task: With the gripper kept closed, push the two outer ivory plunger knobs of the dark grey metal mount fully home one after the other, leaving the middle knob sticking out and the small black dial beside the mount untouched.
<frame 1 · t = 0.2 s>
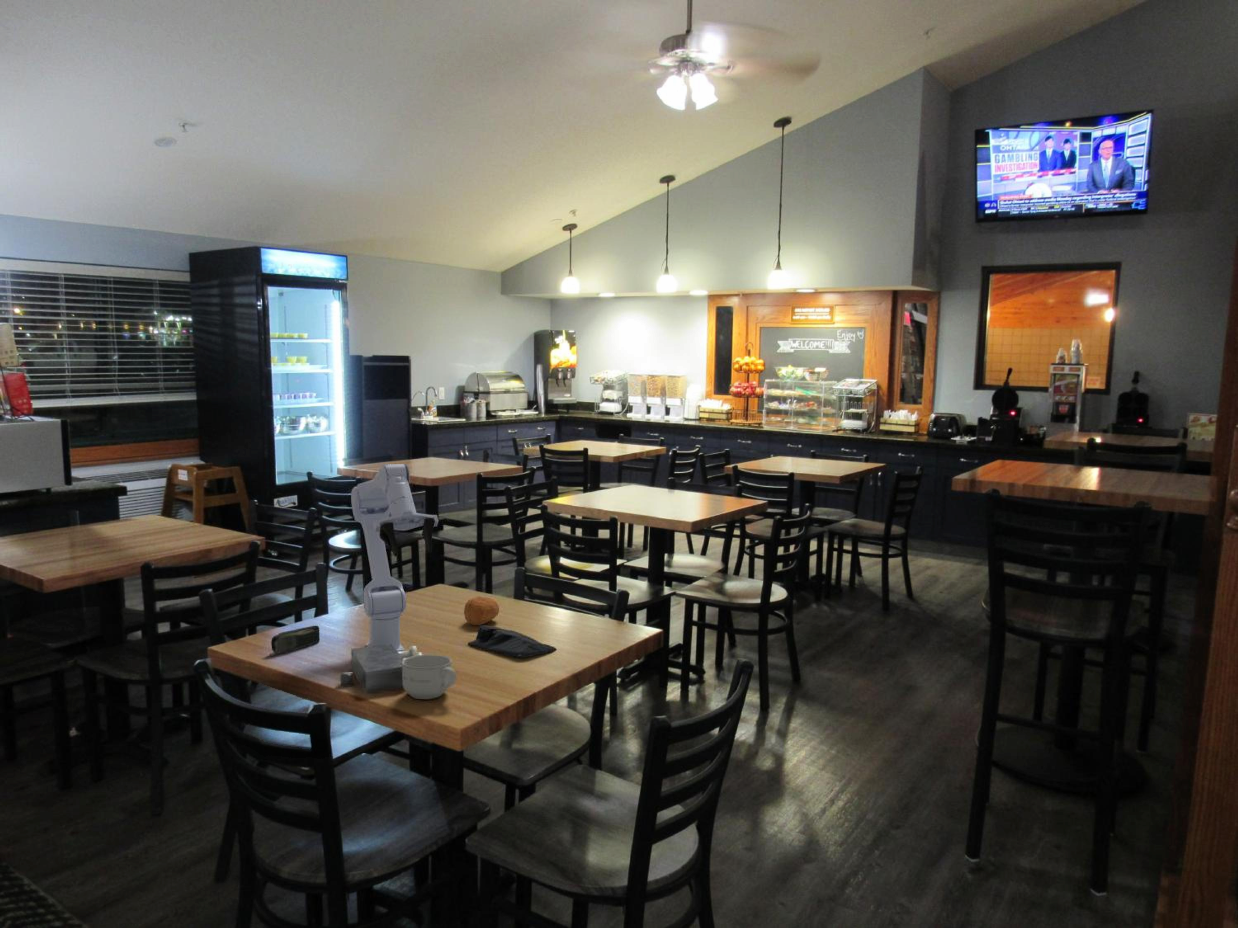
hand: (413, 551, 192), 31 cm above the table, tool tilted 45°, fingers open, 7 cm apart
knob 1: (398, 656, 206), point 3 cm above the table, slide at 0.0 cm
black cloth: (511, 649, 222), on the table
knob middle: (404, 662, 201), point 3 cm above the table, slide at 0.0 cm
potato: (481, 623, 244), on the table
mount: (379, 677, 199), on the table
dark green rounded block: (294, 649, 219), on the table
teacup: (431, 697, 187), on the table
black dial: (347, 683, 194), on the table
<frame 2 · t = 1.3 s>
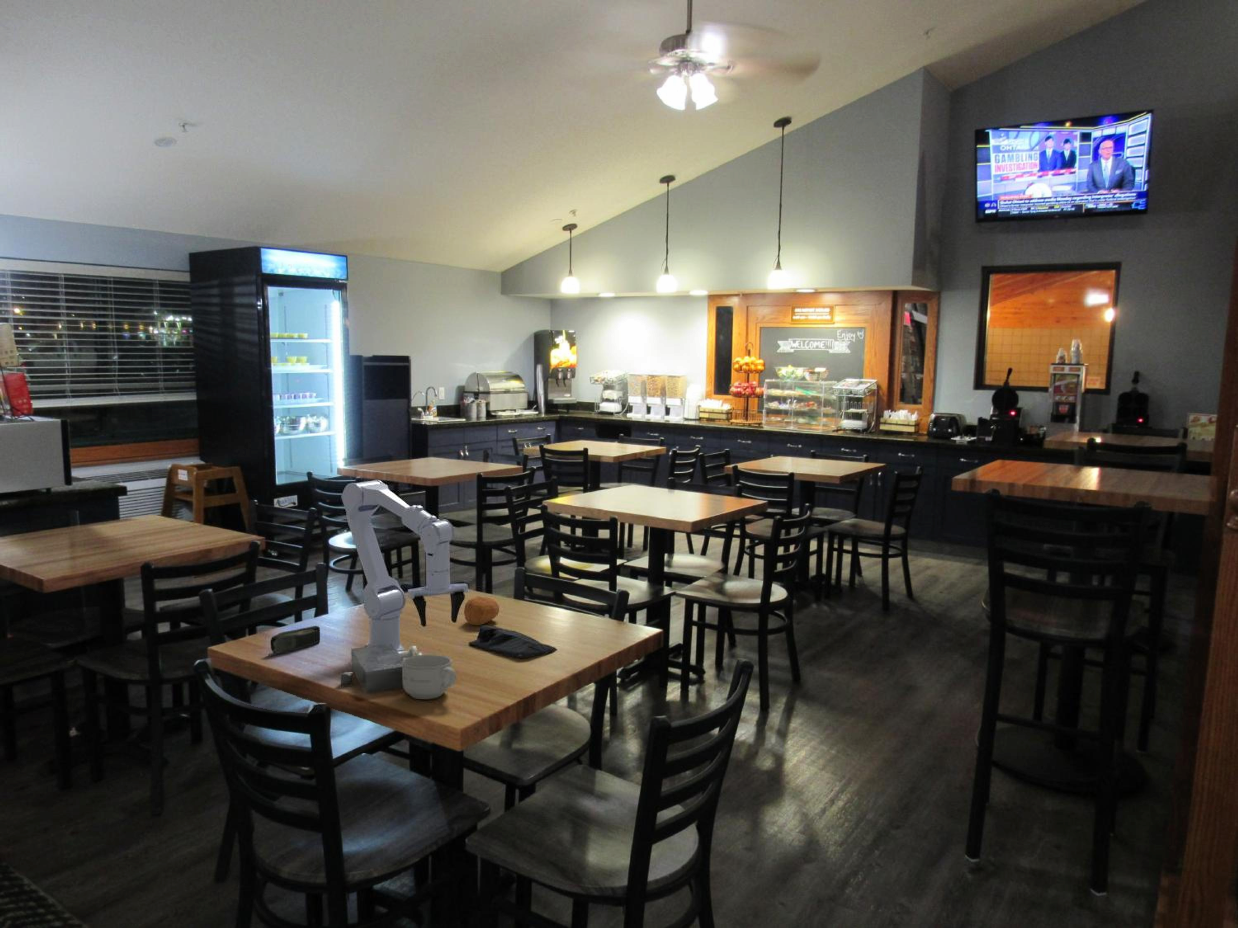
hand: (438, 623, 210), 10 cm above the table, tool pointing down, fingers open, 7 cm apart
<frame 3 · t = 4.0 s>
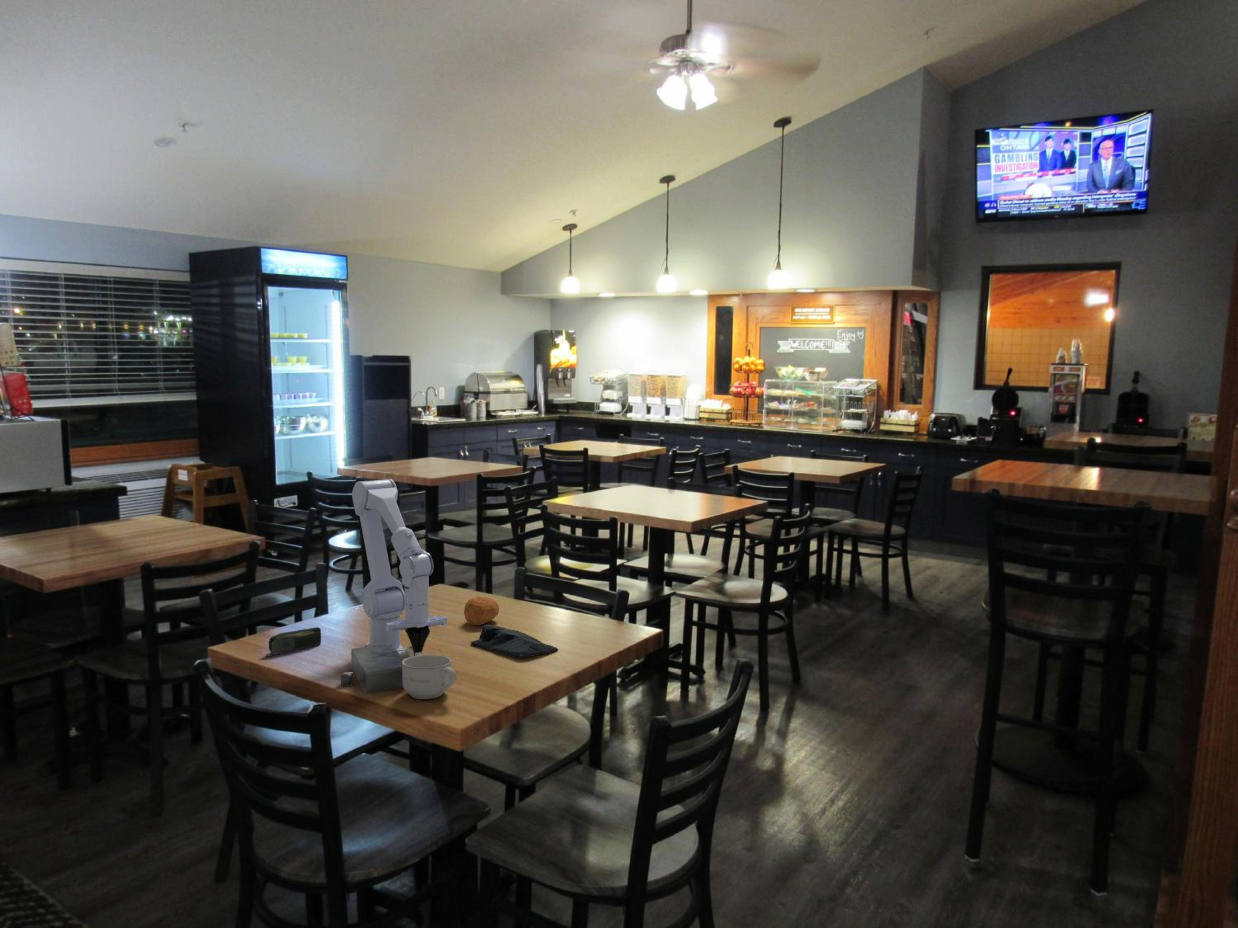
hand: (417, 656, 208), 2 cm above the table, tool pointing down, fingers closed
knob 1: (394, 656, 206), point 3 cm above the table, slide at 1.0 cm, touching gripper
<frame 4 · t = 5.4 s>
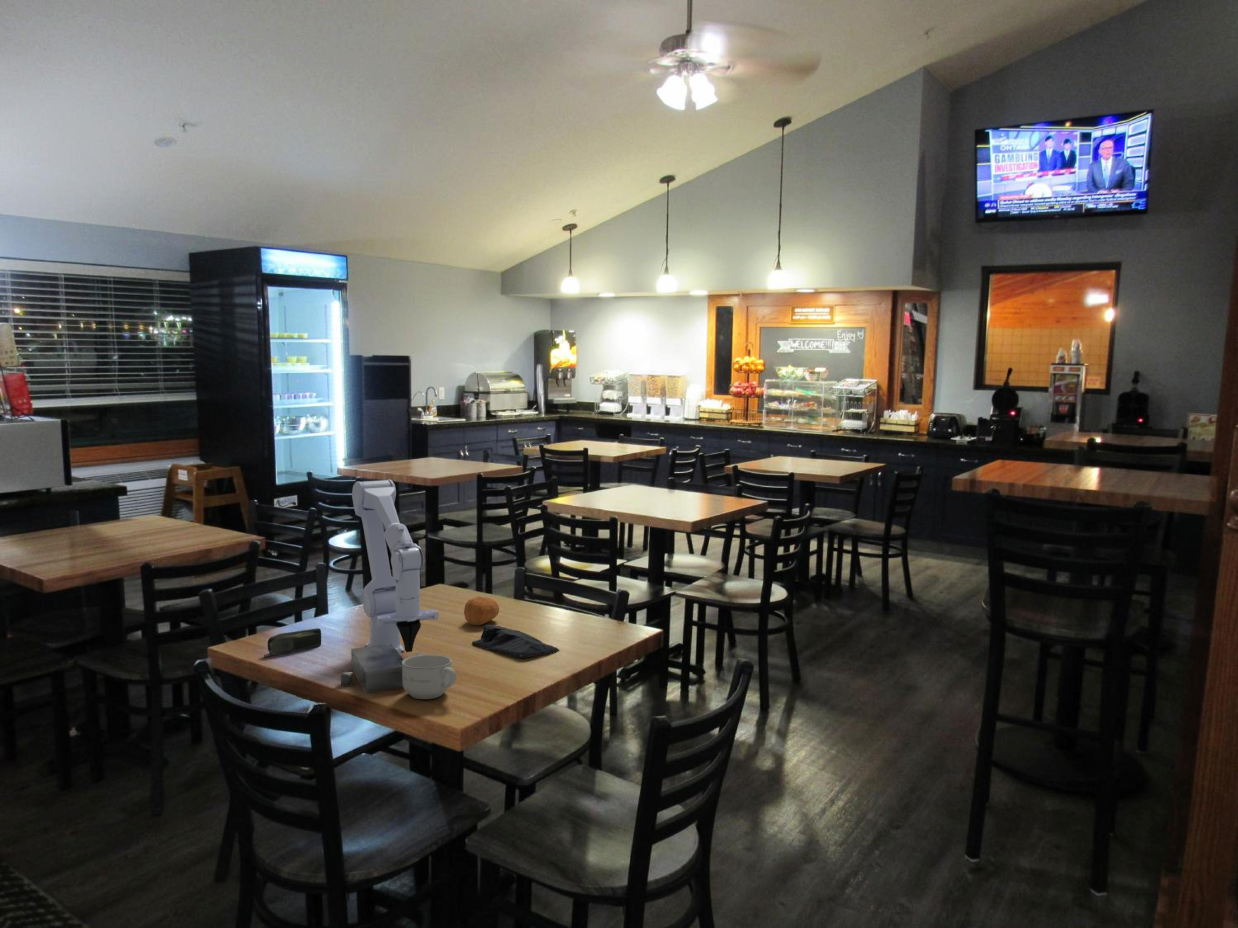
hand: (408, 650, 207), 4 cm above the table, tool pointing down, fingers closed
knob 1: (382, 658, 204), point 3 cm above the table, slide at 3.9 cm
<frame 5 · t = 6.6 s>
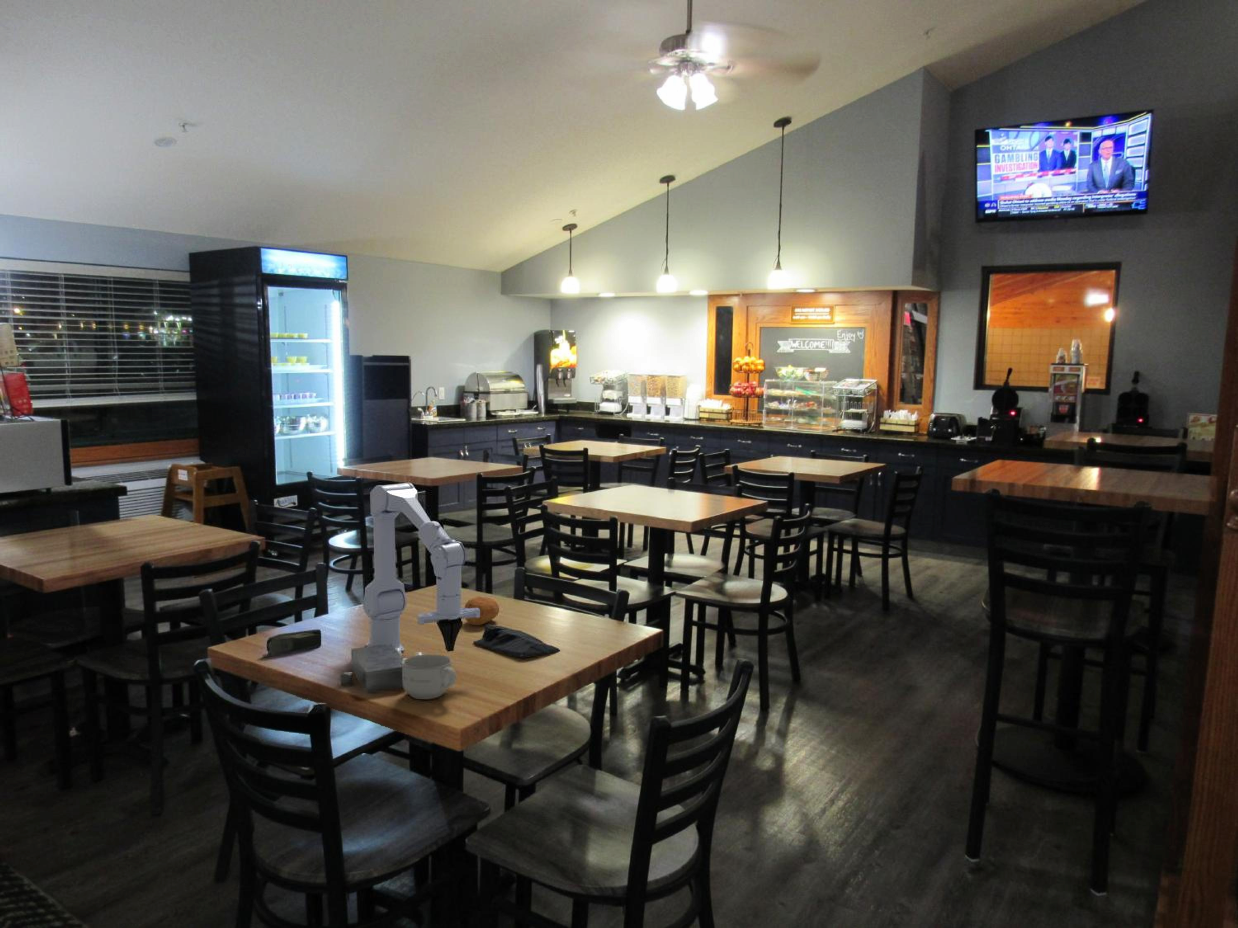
hand: (449, 650, 200), 6 cm above the table, tool pointing down, fingers closed
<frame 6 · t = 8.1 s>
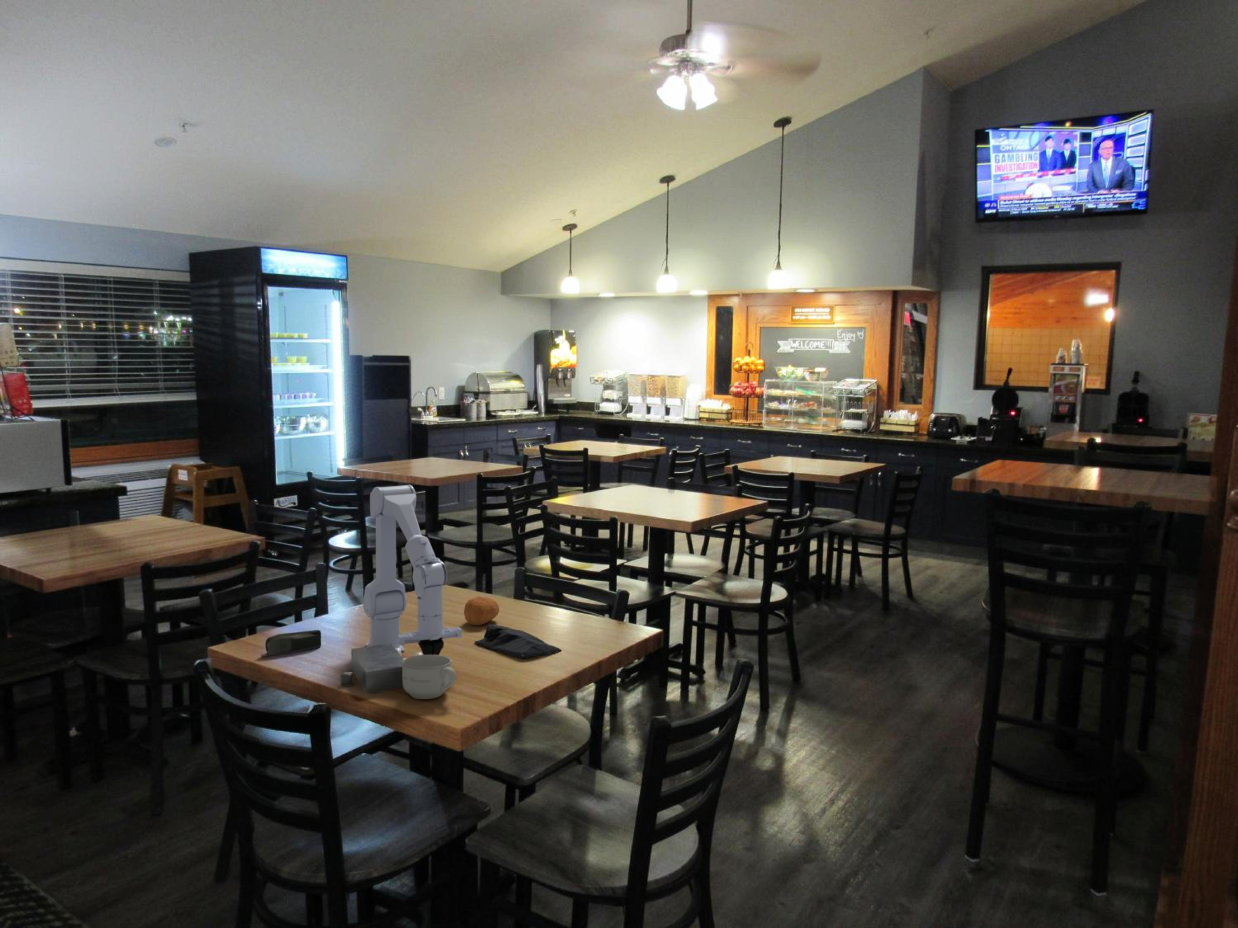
hand: (430, 670, 199), 2 cm above the table, tool pointing down, fingers closed
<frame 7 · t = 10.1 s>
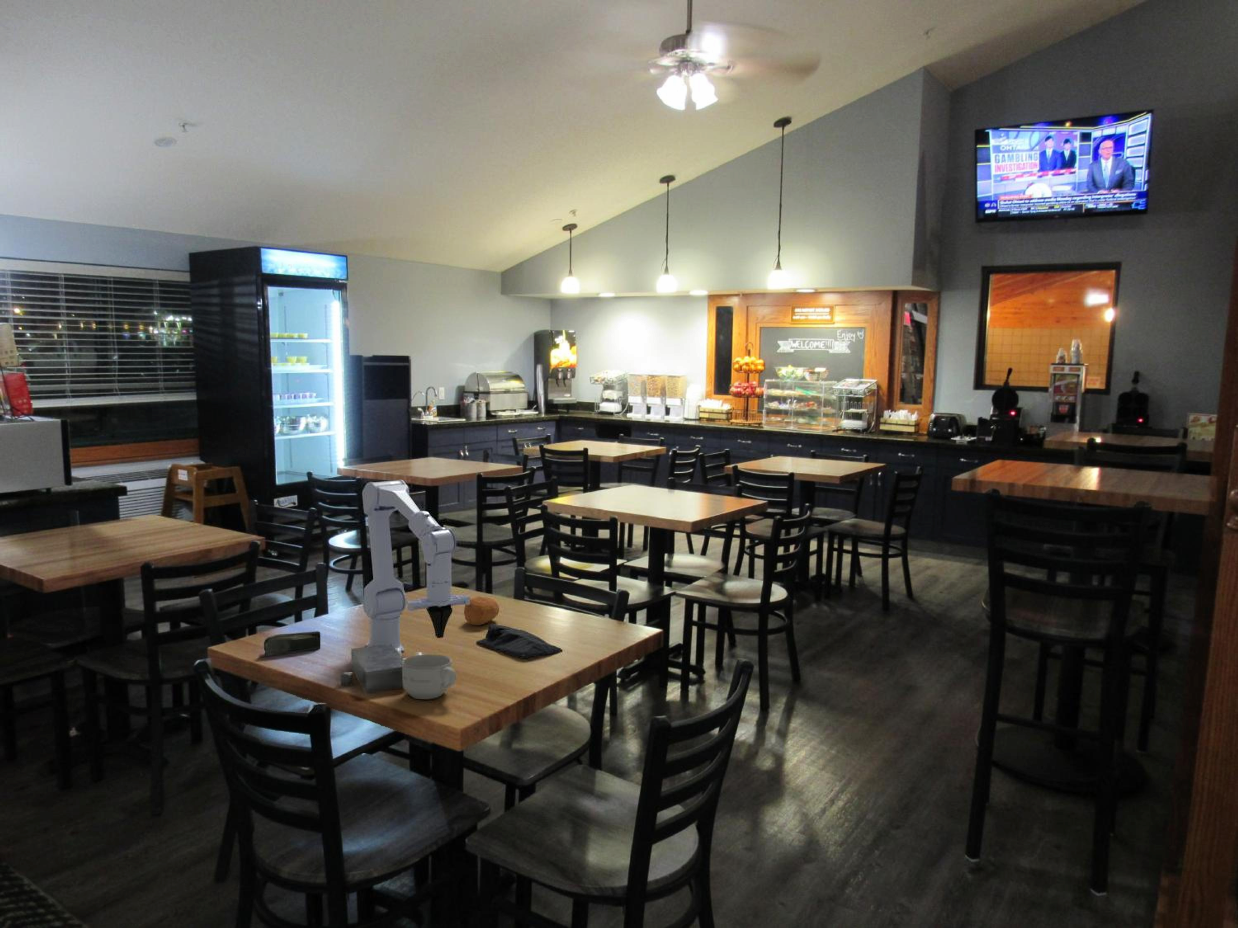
hand: (439, 636, 201), 9 cm above the table, tool pointing down, fingers closed
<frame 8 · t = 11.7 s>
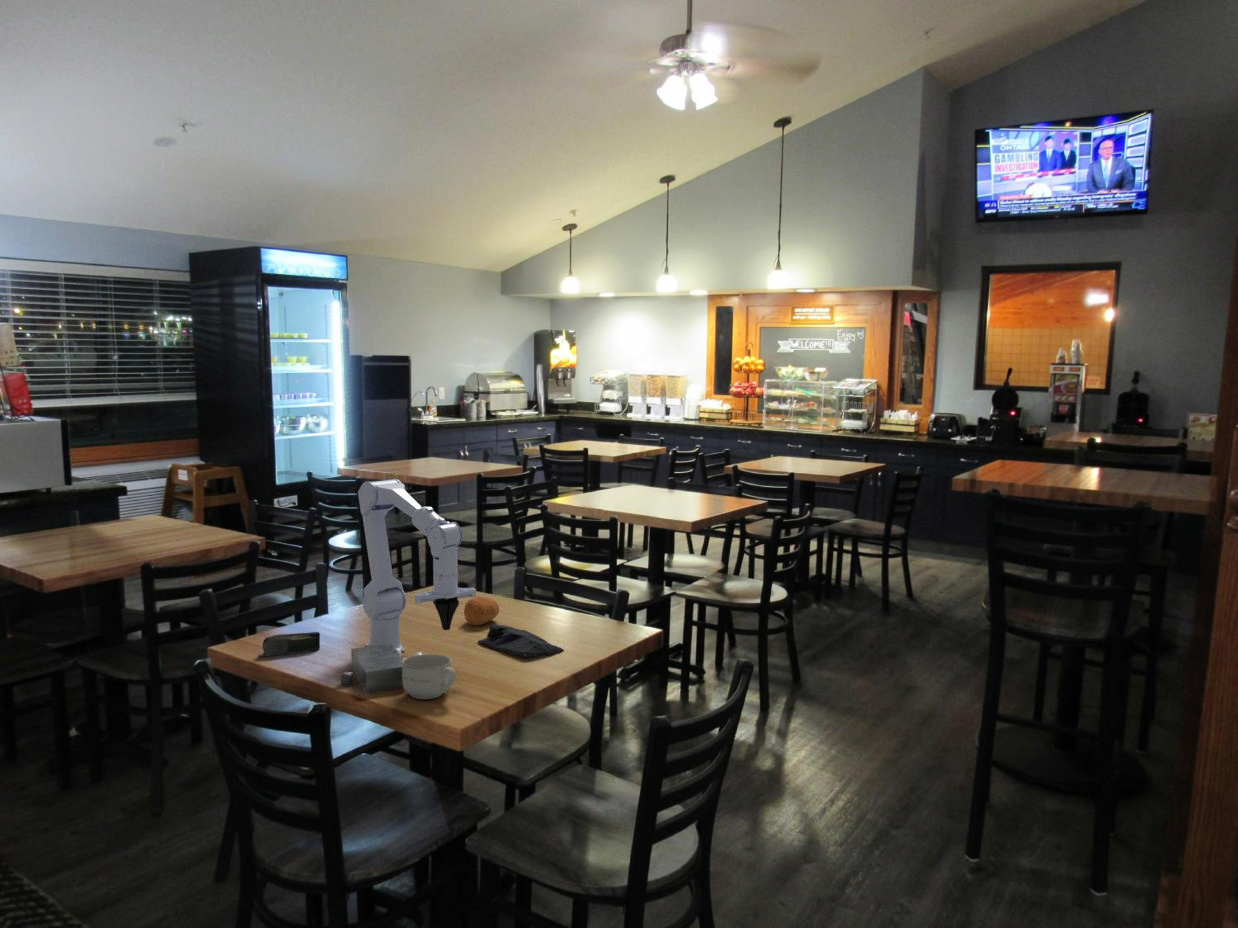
hand: (446, 628, 204), 10 cm above the table, tool pointing down, fingers closed
at the end: knob 1 slide at 3.9 cm; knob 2 slide at 3.9 cm; knob middle slide at 0.0 cm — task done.
